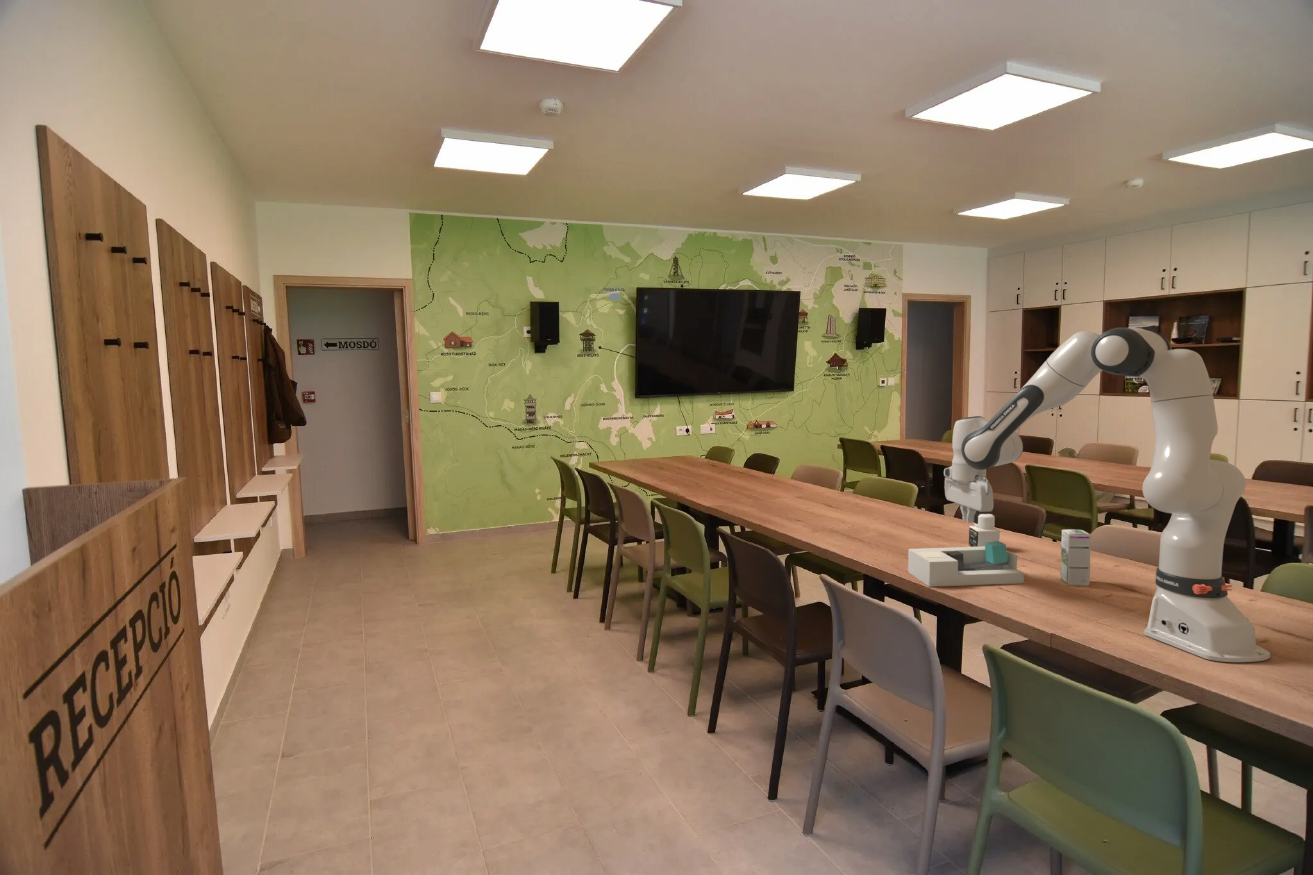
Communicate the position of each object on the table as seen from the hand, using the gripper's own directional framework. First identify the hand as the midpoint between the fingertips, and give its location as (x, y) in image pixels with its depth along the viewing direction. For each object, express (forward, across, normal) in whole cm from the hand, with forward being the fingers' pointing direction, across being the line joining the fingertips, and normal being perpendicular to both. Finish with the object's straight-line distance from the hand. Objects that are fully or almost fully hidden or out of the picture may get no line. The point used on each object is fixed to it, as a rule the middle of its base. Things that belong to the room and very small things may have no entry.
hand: (968, 521), depth 198 cm
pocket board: (+16, +1, +1) cm, 17 cm away
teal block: (+12, 0, -9) cm, 15 cm away
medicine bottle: (+16, +29, -22) cm, 40 cm away
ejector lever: (+14, +1, -4) cm, 14 cm away
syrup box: (+17, -8, -27) cm, 33 cm away
